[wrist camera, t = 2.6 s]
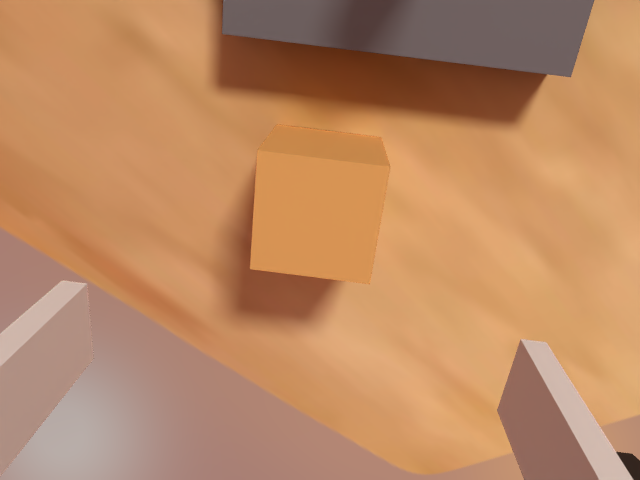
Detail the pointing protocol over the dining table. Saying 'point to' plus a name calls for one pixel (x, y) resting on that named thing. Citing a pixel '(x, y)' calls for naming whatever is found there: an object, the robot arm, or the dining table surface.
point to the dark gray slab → (426, 29)
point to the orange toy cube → (318, 203)
